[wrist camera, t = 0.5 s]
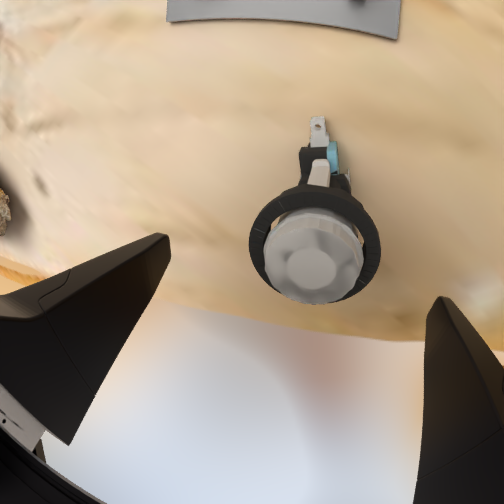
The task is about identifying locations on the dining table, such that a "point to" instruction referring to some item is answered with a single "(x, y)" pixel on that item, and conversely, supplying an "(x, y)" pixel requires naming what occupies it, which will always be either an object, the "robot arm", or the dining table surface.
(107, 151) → the dining table surface
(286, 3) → the dock
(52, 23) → the dining table surface
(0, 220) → the mineral specimen
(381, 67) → the dining table surface
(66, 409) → the robot arm
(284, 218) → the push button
